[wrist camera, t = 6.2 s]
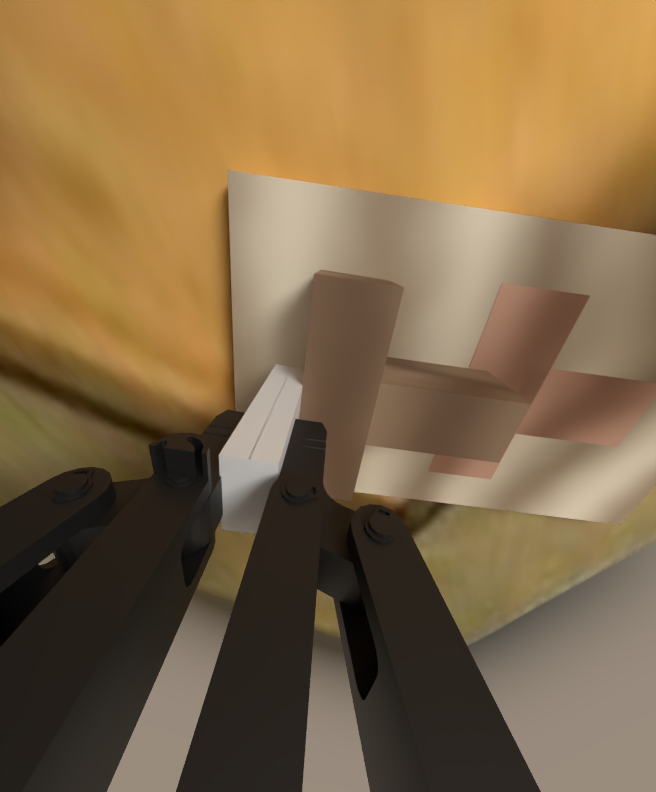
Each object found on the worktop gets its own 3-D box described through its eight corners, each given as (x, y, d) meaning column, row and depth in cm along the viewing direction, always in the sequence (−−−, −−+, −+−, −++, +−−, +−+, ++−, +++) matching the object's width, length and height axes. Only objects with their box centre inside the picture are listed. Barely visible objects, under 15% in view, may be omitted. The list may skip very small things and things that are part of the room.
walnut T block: (301, 448, 17) (291, 493, 13) (320, 269, 12) (313, 274, 9) (445, 468, 17) (469, 516, 14) (519, 299, 12) (580, 314, 9)
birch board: (242, 466, 19) (237, 477, 18) (236, 176, 11) (227, 170, 10) (606, 512, 19) (619, 524, 18) (821, 265, 12) (860, 265, 11)
